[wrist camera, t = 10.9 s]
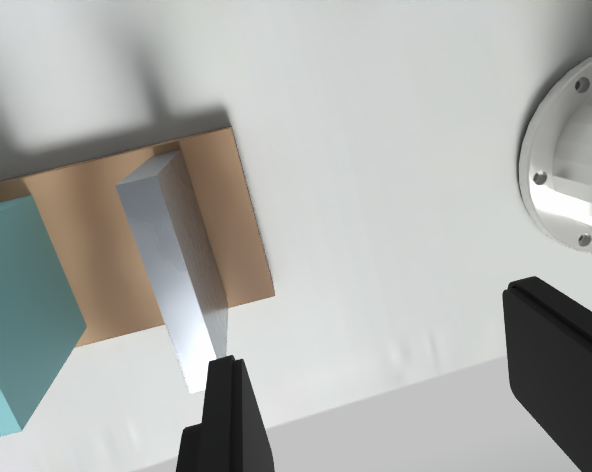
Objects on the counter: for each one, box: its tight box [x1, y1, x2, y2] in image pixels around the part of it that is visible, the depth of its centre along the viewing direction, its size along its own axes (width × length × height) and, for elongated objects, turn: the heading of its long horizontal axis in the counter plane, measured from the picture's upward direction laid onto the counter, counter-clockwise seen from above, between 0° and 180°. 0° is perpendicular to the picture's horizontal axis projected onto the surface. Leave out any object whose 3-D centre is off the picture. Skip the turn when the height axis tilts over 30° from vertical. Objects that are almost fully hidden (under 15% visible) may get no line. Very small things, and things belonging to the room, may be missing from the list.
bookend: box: [115, 149, 228, 394], centre depth 22 cm, size 2×9×8 cm, turn 13°
